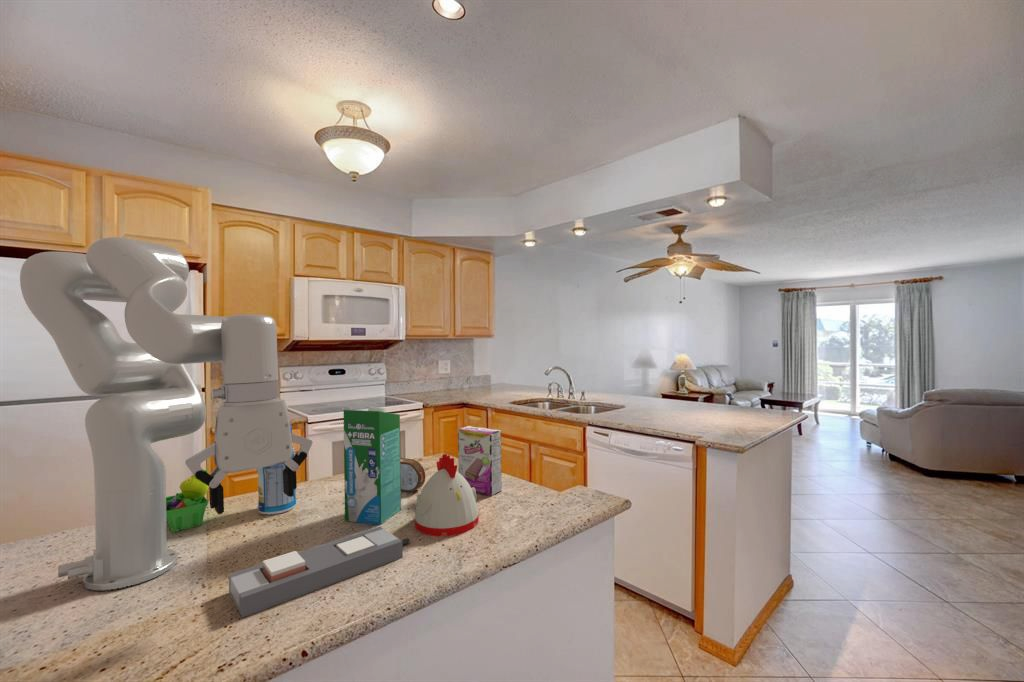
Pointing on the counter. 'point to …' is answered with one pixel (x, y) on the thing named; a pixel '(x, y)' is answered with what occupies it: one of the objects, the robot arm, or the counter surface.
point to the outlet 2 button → (354, 546)
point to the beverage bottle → (273, 489)
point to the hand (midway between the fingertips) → (255, 502)
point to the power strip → (312, 571)
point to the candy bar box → (480, 458)
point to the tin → (411, 475)
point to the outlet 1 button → (283, 566)
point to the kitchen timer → (446, 502)
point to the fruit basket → (187, 505)
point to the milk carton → (371, 465)
